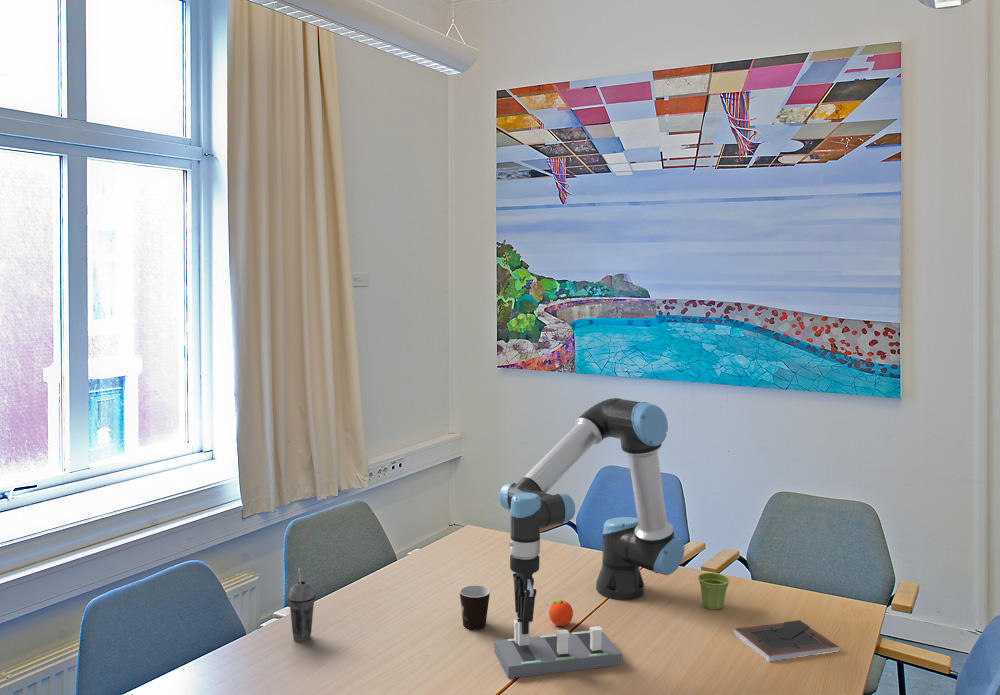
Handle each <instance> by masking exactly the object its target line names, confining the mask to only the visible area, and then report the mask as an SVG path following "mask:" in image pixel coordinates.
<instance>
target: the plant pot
mask: <svg viewBox="0 0 1000 695" xmlns="http://www.w3.org/2000/svg"><path fill="white" fill-rule="evenodd" d="M697 579H698V581H699V586H700V591H701V592H700V593H701V602H702V606H703V607H705V608H707V609H708V608H709V610H713V609H714V611H715V610H718V609H723V608H724V604H725V599H726V593H727V589H728V586H729V584H730V581H731V580H730V577H728V576H727V575H724V574H721V573H716V572H704V573H700V574H698V576H697Z"/></svg>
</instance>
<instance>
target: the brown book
mask: <svg viewBox="0 0 1000 695" xmlns="http://www.w3.org/2000/svg"><path fill="white" fill-rule="evenodd" d="M734 634H735V635H736V638H738V639H739V640H740V639H741V641H742V642H743V643H744V644H746V645H747V646H748V647H749V648H750V649H752V650H753V651H754V650H755V652H756V653H757V654H758V653H759V655H760V657H762V658H763V657H764V658H763V659H765V660H766V661H767V662H768V661H769V663H770V661H772V662H775V661H774V660H779V661H783V660H782V659H787V658H793V657H798V656H805V655H813V654H817V653H823V652H831V651H838V650H839V651H840V646H838V645H837V644H836V643H834V642H833V641H832V640H829V639H828V638H827V637H825V636H823V634H821V633H819V632H817V631H816V630H814V628H811V627H810V626H809V625H808V624H807V623H805V622H803V621H802V620H801V619H800V620H791V621H790V620H789V621H784V622H780V623H779V622H778V623H777V622H776V623H769V624H763V625H762V624H761V625H752V626H743V627H736V628H733V635H734ZM787 660H788V659H787Z"/></svg>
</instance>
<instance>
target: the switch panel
mask: <svg viewBox="0 0 1000 695" xmlns="http://www.w3.org/2000/svg"><path fill="white" fill-rule="evenodd" d="M493 648H494V654H495V656H496V657H497V660H498V661H499V663H500V666H501V667H502V669H503V671H504V674H505V675H506V677H507V679H514V678H515V679H516V678H522V677H524V678H525V677H532V676H539V675H548V674H558V673H565V672H575V671H582V670H584V671H585V670H593V669H600V668H609V667H610V668H611V667H618V666H622V660H623V659H622V658H623V653H622V652H621V651H620V650H619V648H617V646H616V645H615V644H614V643H613V641H611V640H610V638H609V637H608V636H607V635H606V634H605V633H604V632H603V633H602V635H601V650H596V651H592V650H591V649H590V631H589V630H584V631H575V632H571V633H570V632H569V637H568V654H560V655H559V654H558V653H557V635H556V634H555V633H554V634H553V633H552V634H547V635H546V634H544V635H540V636H531V637H530V636H529V645H523V646H519V645H518V643H515V641H514V638H508V639H501V640H494V646H493Z"/></svg>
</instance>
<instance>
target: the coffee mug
mask: <svg viewBox="0 0 1000 695" xmlns="http://www.w3.org/2000/svg"><path fill="white" fill-rule="evenodd" d="M490 594H491V589H490V588H489V587H486V586H483V585H477V584H471V585H465V586H462V587H461V588H460V589H459V599H460V609H461V618H462V619H461V620H462V626H464V627H465V628H464V627H463V628H464V629H466V630H468V629H469V631H481V630H483V629H484V627H485V628H486V626H487V619H488V618H487V617H488V609H489V604H490V603H489V601H490ZM480 629H481V630H480Z"/></svg>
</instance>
